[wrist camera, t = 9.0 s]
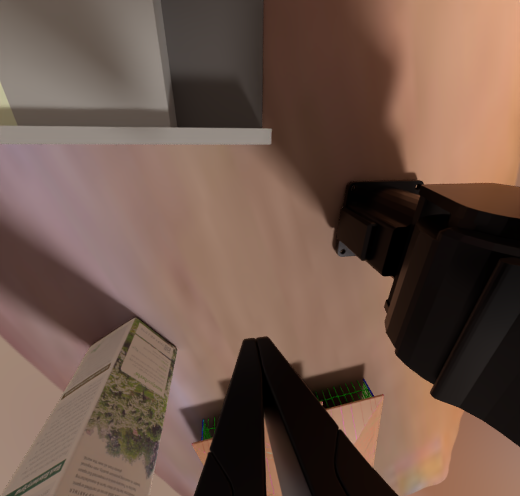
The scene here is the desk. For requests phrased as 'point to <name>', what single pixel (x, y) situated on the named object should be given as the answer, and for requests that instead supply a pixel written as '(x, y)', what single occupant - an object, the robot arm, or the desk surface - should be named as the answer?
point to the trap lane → (131, 72)
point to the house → (347, 418)
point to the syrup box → (104, 421)
